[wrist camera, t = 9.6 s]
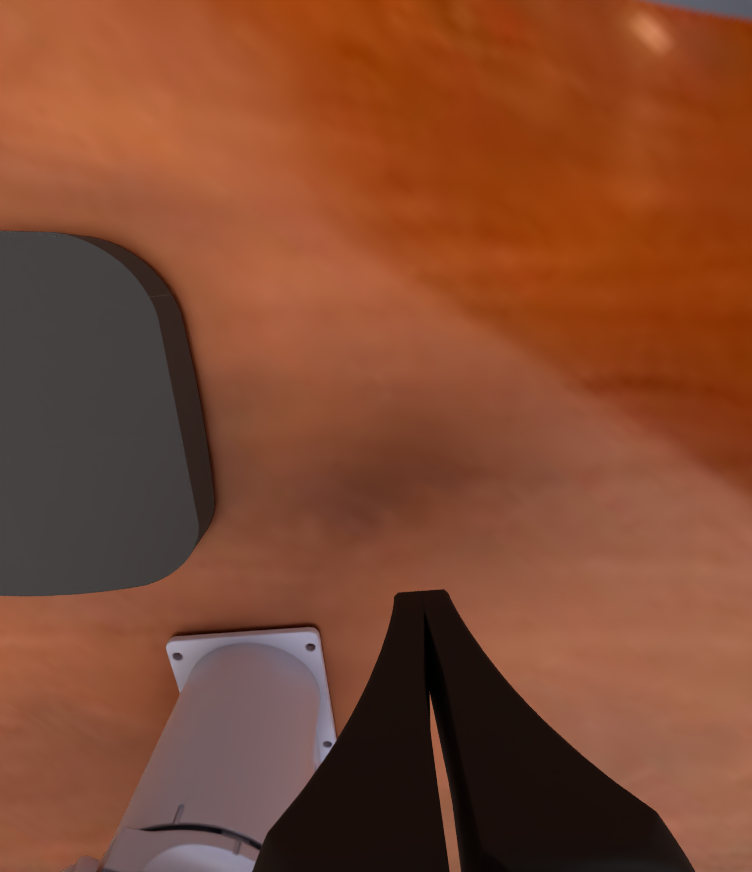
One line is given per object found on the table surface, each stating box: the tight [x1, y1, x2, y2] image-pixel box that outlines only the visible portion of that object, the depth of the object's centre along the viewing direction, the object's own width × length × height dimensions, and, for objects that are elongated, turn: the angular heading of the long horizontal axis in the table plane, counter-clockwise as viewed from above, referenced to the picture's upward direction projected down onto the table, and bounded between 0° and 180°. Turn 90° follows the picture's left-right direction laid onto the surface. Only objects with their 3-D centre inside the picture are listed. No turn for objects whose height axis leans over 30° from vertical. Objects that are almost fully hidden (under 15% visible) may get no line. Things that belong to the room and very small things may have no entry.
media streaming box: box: [0, 231, 215, 596], centre depth 19 cm, size 15×15×3 cm
